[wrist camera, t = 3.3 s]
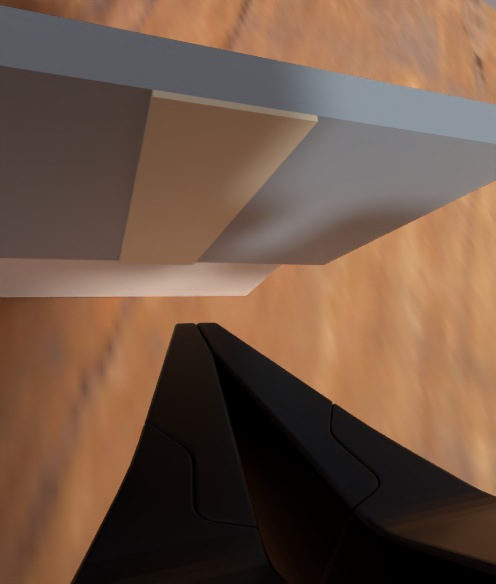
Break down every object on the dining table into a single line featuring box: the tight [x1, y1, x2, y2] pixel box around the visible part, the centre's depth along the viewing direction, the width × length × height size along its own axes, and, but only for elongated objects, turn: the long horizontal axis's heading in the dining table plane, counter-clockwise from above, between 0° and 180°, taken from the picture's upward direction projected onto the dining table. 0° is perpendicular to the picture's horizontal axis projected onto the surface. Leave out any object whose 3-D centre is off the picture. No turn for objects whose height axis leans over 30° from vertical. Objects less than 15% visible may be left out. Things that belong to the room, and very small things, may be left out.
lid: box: [0, 5, 496, 265], centre depth 10 cm, size 9×12×1 cm
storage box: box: [0, 258, 281, 297], centre depth 19 cm, size 8×12×8 cm, turn 97°
